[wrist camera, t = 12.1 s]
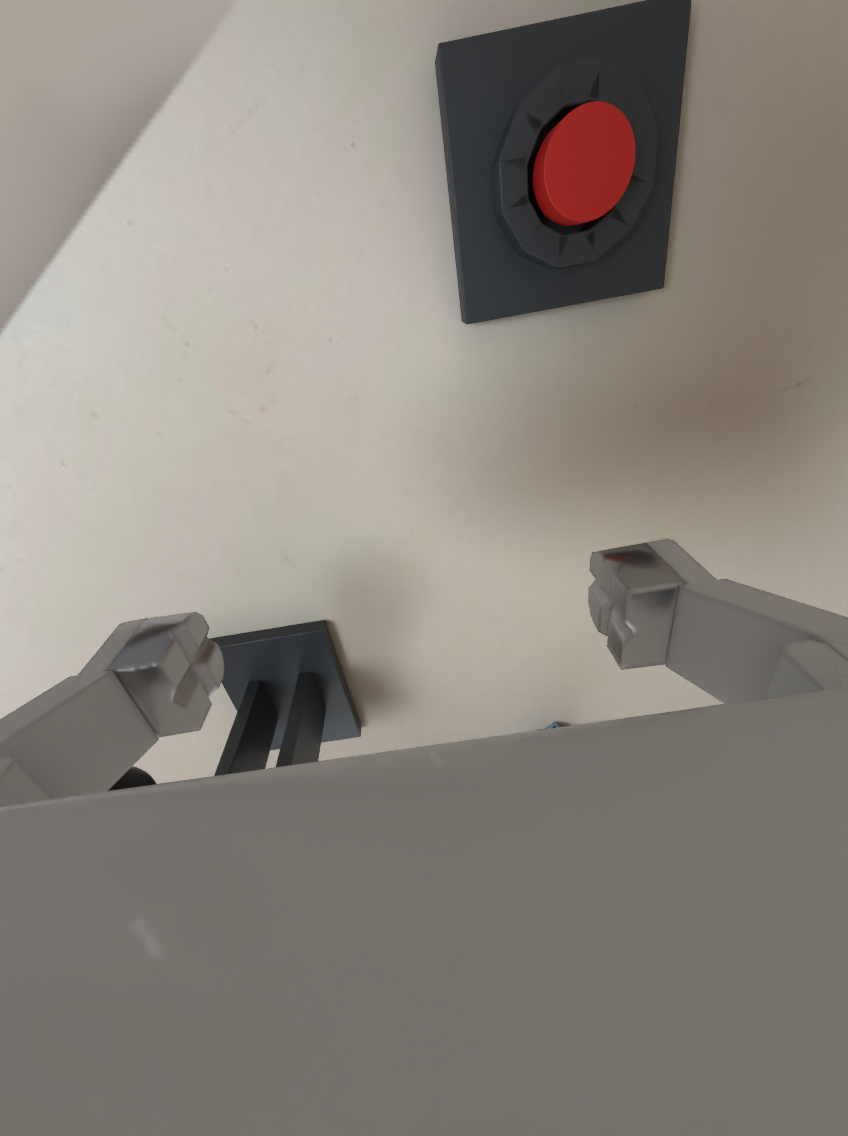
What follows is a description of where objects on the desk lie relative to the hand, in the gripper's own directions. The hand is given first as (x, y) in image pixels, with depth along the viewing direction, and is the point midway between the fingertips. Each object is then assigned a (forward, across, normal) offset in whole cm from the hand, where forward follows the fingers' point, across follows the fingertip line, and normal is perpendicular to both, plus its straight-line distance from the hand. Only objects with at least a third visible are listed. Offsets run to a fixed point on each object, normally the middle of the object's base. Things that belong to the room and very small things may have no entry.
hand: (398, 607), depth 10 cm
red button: (+17, -9, -9) cm, 21 cm away
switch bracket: (+20, +12, +21) cm, 32 cm away
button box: (+20, -9, -9) cm, 24 cm away
